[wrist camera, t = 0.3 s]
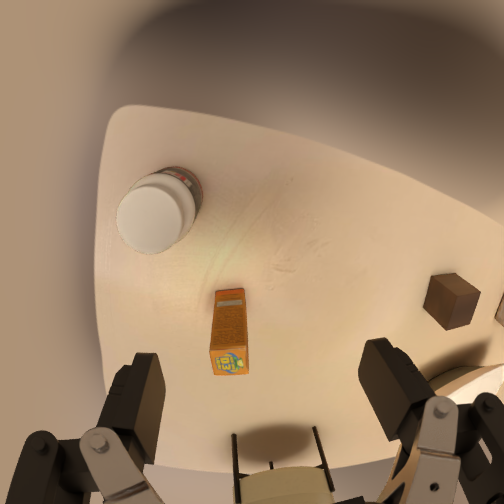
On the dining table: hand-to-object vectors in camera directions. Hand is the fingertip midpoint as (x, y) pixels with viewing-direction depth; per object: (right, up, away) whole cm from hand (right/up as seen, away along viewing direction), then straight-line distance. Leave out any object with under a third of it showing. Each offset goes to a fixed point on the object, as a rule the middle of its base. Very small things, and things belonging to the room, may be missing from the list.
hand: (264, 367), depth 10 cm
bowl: (+37, -23, +34) cm, 55 cm away
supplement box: (-3, -1, +22) cm, 22 cm away
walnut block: (+26, -1, +24) cm, 35 cm away
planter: (+3, -30, +33) cm, 45 cm away
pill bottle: (-8, +10, +17) cm, 21 cm away
